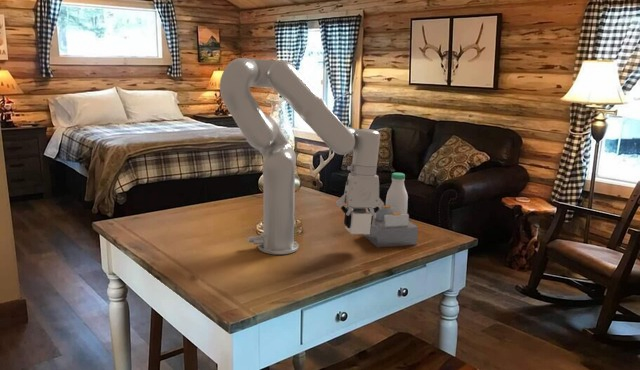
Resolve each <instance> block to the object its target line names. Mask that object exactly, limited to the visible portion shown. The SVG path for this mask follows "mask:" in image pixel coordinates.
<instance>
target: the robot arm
mask: <svg viewBox="0 0 640 370" xmlns="http://www.w3.org/2000/svg"><path fill="white" fill-rule="evenodd" d="M250 87H251V88H252V87H255V88H266V89H267V88H269V89H274V90H275V92H277V94H278V95H279V96H280V97H282V98H283V99H284V100H285V102H286V103H287V104H288V105H289V106H290V107H291V108H292V109H293V111H295V113H297V114H298V116H300V118H301V119H302V120H303V121H304V122H305V123H306V124H307V125H308V126H309V127H310V128H311V129H312V131H313V132H314V133H315V134H316V135H317V136H318V138H320V140H322V141H323V142H324V143H325V145H326V146H327V147H328V148H329V149H331V151H332V152H334V153H335V154H337V155H341V156H344V155H347V154H349V153H351V152H353V154H352V160H351V161H352V162H351V164H350V165H347V168H346V169H347V171H350V172H349V173H348V176H347V180H346V182H345V186H344V187H345V188H344V193H343V195H342V196H341V197H340V198H338V200H336V202H335V204H336V205H337V206H338V208H339V209H341V211H342V212H343V213H344V219H343V220H344V221H343V222H344V223H343V224H344V226H346V227H347V228H350V225H351V215H350V214H351V211H352V209H353V208H365V209H366V210H367V211H369V212H370V213H371V214H372V218H371V225H372V220H373V218H374V217H375V213H376V212H377V211H378V210H379V209H380V208H383V206H385V202H384V201H383V200H382V199H381V198H380V180H379V178H380V177H379V175H377V168H378V159H379V151H380V141H381V134H380V132H379V131H378V130H375V129H369V128H356V127H355V128H354V127H351V126H346V125H345V124H344V123H343V122H342V121H340V119H339V118H338V117H337V116H336V114H334V113H333V111H332V110H331V109H330V107H329V106H328V104H327V103H326V101H325V100H324V98H323V96H321V95H320V93H319V92H318V91H317V90H316V89H315V88H314V87H313V86H312V85H311V84H310V83H309V82H308V81H307V80H306V79H305V78H304V77H303V75H302V74H301V73H300V72H299V71H298V70H297V69H296V67H295V65H293V63H292V62H290V61H287V60H280V59H279V60H277V59H276V60H275V59H274V60H272V59H261V58H260V59H259V58H248V57H239V58H235V59H233V60H231V61H230V62H228V64H227V65H226V66H225V69H224V70H223V72H222V74H221V77H220V81H219V91H220V96H221V99H222V102H223V104H224V105H225V107H226V108H227V110H228V112H229V114H230V115H231V117H232V118H233V120H234V122H235V124H236V126H237V127H238V128H239V130H240V131H241V133H242V134H243V136H244V138H245V140H246V142H247V143H248V144H249V145H250V147H252V148H254V149H256V150H258V151H259V152H260V154H261V155H262V157H263V158H264V160H263V163H262V179H263V180H262V181H263V183H262V185H263V187H262V188H263V194H262V195H263V217H262V218H263V223H262V224H263V231H262V232H261V234H260V235H259V234H258V236H248V237H247V242H248V243H249V244H250V243H251V244H252V243H253V245H258V247H257V248H258V250H259V251H260V252H262V253H265V254H268V255H269V254H270V255H288V254H292V253H295V252H297V251H298V250H299V246H300V245H299V242H297V241H295V239H294V238H295V205H296V204H295V202H296V201H295V200H296V199H295V197H296V196H295V189H296V187H295V186H296V184H295V183H296V181H295V180H296V177H295V176H296V166H297V165H296V164H297V154H296V152H295V150H294V148H293V147H292V145H291V143H290V141H289V140H288V138H287V137H286V136H285V134H284V132H283V131H282V129H281V128H280V126H279V124H278V123H277V122H276V120H274V119H273V118H272V117H271V116H268V115H266V114H265V112H264V111H263V110H262V108H261V107H260V105H259V103H258V101H257V100H256V98H255V97H254V96H253V94H252V92H251V88H250ZM343 203H345V204H346V206H344V204H343ZM370 228H371V227H370Z"/></svg>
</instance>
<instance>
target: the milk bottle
mask: <svg viewBox="0 0 640 370" xmlns="http://www.w3.org/2000/svg"><path fill="white" fill-rule="evenodd" d="M405 178H406V175H405V173H403V172H393V173H391V184H390V187H389V189H388V190H387V194H386V198H385V206H391V207H398V212H400V213H401V214H408V204H409V203H408V201H409V200H408V199H409V196H408V192H407V189H406V186H405V180H406V179H405Z"/></svg>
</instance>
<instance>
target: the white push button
mask: <svg viewBox="0 0 640 370" xmlns="http://www.w3.org/2000/svg"><path fill="white" fill-rule="evenodd" d="M350 215H351V225H350V228H347V227H346V226H345V225H344V226H345V227H344V228H345V230H347V232H349V234H350V235H364V234H370V227H371V218H372V214H371V213H370V212H369V211H368V210H367V208H353V209H352V211H351V214H350Z"/></svg>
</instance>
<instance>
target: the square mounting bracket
mask: <svg viewBox="0 0 640 370" xmlns="http://www.w3.org/2000/svg"><path fill="white" fill-rule="evenodd" d="M409 219H410V215H409V213H407V214H401V213H400V212H398V207H391V206H386V205H383V206H382V207H381V208H380V209H379V210H378V211H377V212H376V213H375V215H374V216H373V220H372V225H371V228H370V234H363V237H365V238H366V239H367V241H369V242H370V243H371V244H372V245H373V246H375V247H376V248H386V247H401V246H403V247H404V246H417V245H418V236H419V235H418V234H419V233H418V232H419V226H417V224H414V222H412V221H410V220H409Z"/></svg>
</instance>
